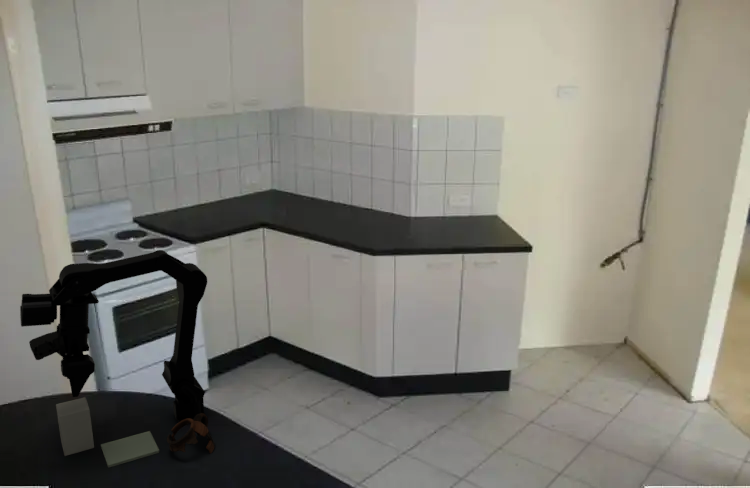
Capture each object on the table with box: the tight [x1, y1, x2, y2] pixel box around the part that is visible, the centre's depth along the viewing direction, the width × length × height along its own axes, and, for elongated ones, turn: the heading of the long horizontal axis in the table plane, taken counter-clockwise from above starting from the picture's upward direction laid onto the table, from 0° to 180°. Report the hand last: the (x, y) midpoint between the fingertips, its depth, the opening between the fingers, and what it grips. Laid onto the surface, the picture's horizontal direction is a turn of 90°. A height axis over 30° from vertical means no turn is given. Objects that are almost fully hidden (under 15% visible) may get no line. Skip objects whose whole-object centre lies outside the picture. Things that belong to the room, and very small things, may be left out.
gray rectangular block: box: [55, 396, 95, 457], centre depth 145 cm, size 6×6×10 cm
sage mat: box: [100, 430, 160, 468], centre depth 145 cm, size 11×9×1 cm
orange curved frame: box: [166, 413, 216, 454], centre depth 147 cm, size 12×10×8 cm
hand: (72, 387), depth 142 cm, fingers open, 9 cm apart
